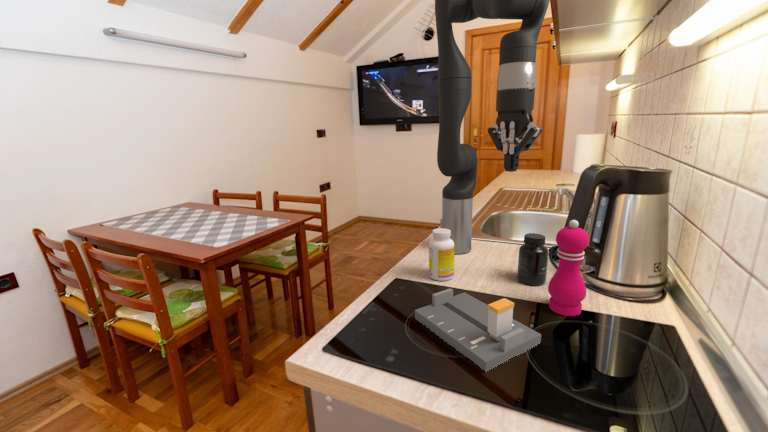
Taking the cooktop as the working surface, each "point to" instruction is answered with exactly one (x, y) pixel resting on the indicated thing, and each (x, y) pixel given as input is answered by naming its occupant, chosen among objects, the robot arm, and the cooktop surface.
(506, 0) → the robot arm
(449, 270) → the supplement bottle
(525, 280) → the supplement bottle
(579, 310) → the pepper mill
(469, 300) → the fader console
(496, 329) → the fader knob
